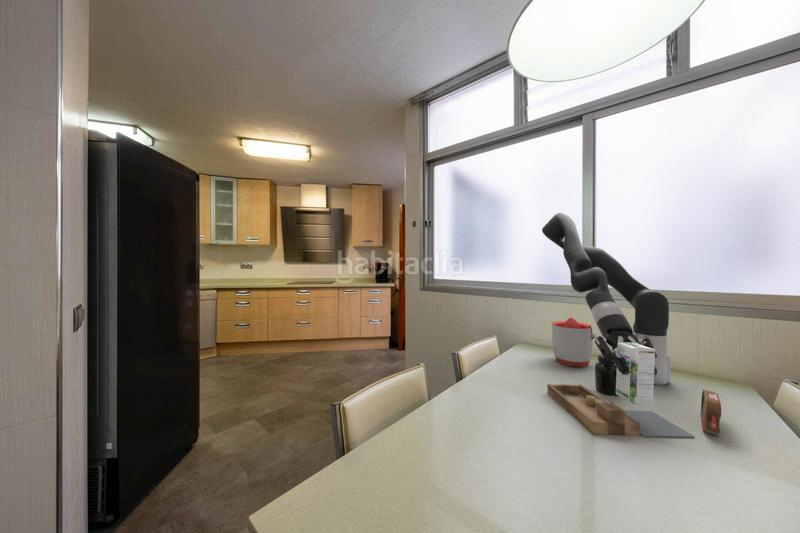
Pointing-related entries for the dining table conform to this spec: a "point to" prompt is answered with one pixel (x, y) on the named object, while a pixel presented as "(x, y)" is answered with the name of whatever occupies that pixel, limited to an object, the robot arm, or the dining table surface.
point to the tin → (710, 412)
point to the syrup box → (636, 373)
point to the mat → (656, 425)
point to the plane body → (593, 411)
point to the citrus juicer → (572, 342)
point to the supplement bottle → (605, 376)
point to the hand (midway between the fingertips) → (639, 374)
